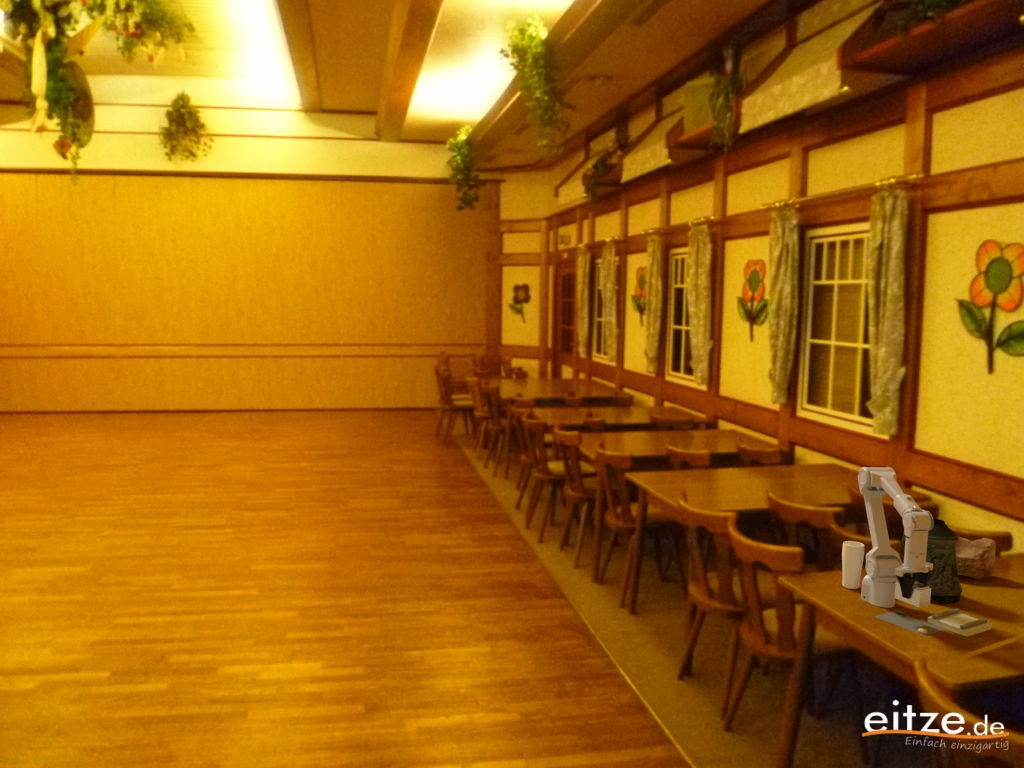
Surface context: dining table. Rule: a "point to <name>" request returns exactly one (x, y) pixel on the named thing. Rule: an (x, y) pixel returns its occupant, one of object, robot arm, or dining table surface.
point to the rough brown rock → (976, 557)
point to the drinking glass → (852, 563)
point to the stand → (960, 622)
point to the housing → (915, 594)
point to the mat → (909, 623)
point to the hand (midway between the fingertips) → (912, 596)
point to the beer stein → (942, 564)
